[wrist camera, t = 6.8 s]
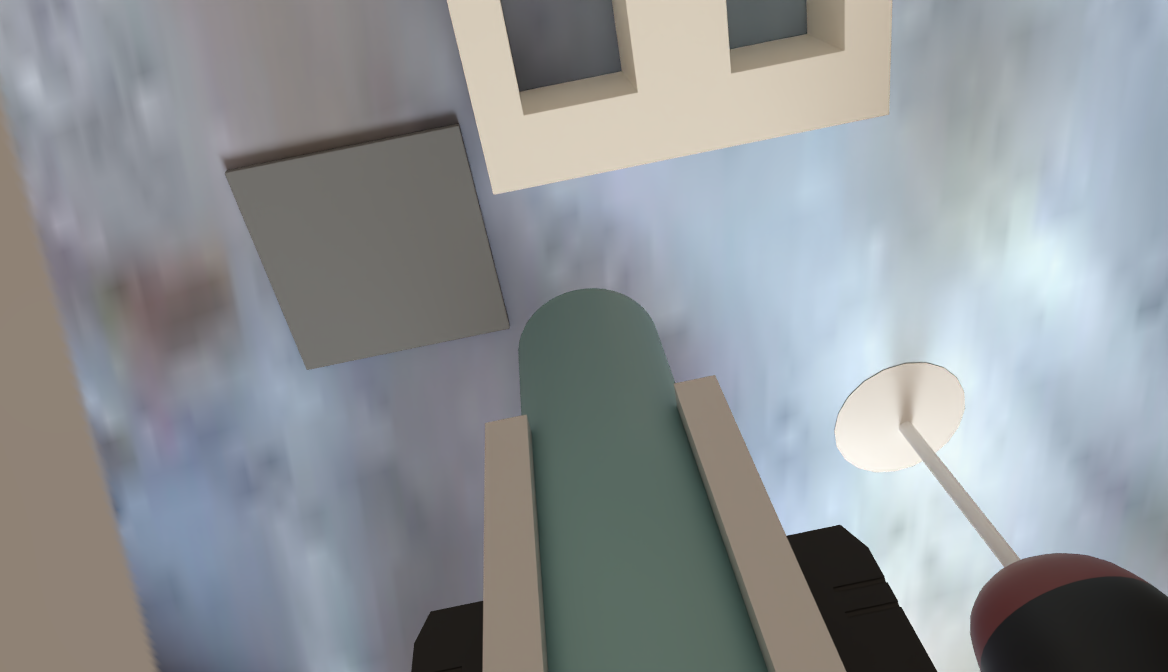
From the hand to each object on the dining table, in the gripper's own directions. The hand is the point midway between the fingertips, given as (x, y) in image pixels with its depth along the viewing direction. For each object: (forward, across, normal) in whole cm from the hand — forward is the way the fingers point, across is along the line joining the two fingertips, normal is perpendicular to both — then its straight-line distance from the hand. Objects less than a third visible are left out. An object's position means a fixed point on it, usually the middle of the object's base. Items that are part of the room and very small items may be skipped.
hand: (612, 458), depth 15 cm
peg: (+4, 0, 0) cm, 4 cm away
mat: (+22, -9, -4) cm, 24 cm away
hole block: (+23, +6, +4) cm, 24 cm away
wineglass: (+23, +16, -20) cm, 35 cm away
